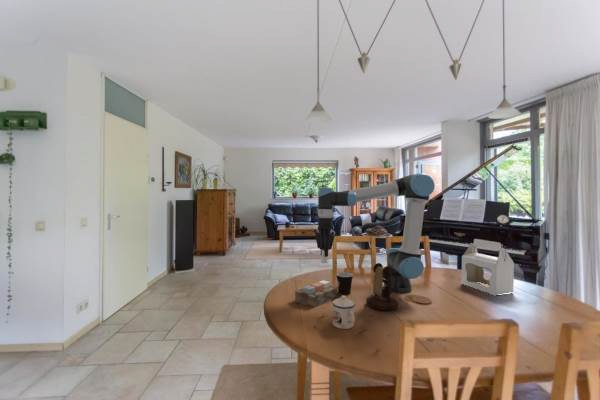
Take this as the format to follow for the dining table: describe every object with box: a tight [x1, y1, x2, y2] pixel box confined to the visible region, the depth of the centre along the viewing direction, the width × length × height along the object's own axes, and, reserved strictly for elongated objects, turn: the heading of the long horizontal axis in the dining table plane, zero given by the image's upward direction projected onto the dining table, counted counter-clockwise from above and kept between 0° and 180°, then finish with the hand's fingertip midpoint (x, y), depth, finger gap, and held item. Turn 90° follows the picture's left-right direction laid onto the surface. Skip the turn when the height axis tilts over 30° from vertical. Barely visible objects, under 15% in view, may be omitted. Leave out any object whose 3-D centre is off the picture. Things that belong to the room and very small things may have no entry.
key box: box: [294, 285, 338, 309], centre depth 145 cm, size 19×12×5 cm, turn 138°
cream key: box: [317, 280, 331, 289], centre depth 150 cm, size 4×4×5 cm
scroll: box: [365, 262, 399, 312], centre depth 137 cm, size 15×15×20 cm
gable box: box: [461, 238, 515, 295], centre depth 166 cm, size 22×13×28 cm, turn 19°
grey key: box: [302, 284, 315, 295], centre depth 141 cm, size 4×4×5 cm
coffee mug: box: [336, 272, 354, 296], centre depth 157 cm, size 12×9×10 cm
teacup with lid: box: [331, 295, 356, 330], centre depth 116 cm, size 12×9×12 cm
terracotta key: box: [310, 282, 323, 292], centre depth 145 cm, size 4×4×5 cm
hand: (324, 262), depth 150 cm, fingers closed
